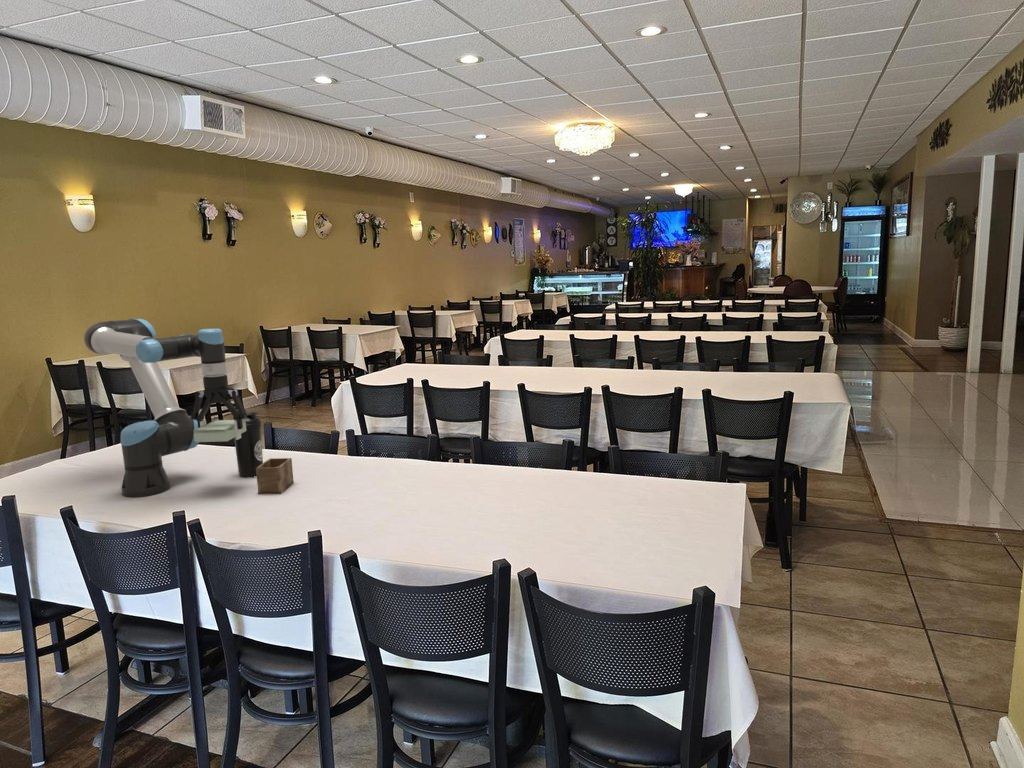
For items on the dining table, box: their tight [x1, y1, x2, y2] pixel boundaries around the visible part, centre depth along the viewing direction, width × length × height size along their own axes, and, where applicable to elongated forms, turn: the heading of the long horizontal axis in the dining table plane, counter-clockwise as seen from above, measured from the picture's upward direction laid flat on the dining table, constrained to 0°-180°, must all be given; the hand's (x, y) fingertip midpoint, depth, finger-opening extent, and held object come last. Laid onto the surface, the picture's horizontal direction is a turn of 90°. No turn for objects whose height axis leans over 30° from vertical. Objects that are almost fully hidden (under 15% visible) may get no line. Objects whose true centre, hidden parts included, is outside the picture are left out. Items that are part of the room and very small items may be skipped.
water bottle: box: [232, 411, 264, 479], centre depth 260 cm, size 10×10×23 cm
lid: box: [193, 419, 247, 443], centre depth 241 cm, size 15×11×4 cm
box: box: [256, 457, 295, 495], centre depth 244 cm, size 12×8×9 cm, turn 177°
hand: (221, 439), depth 241 cm, fingers closed on lid, 11 cm apart
